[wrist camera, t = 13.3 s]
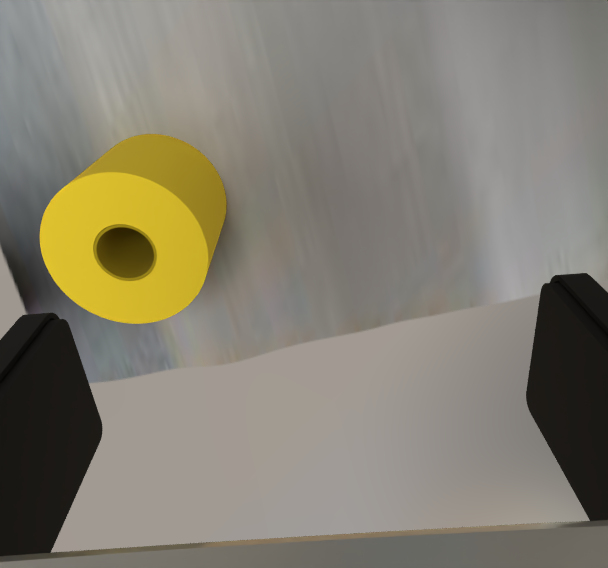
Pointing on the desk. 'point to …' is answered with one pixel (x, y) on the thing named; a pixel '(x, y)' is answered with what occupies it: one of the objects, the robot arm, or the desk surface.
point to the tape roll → (136, 230)
